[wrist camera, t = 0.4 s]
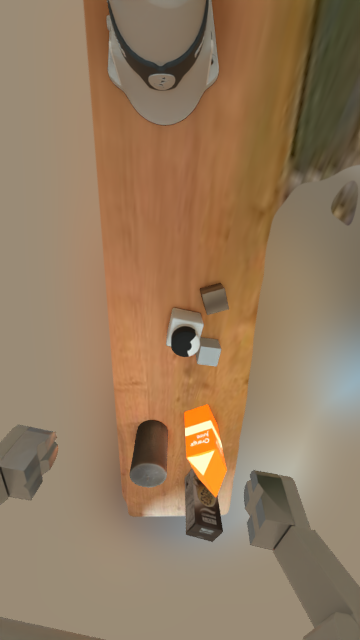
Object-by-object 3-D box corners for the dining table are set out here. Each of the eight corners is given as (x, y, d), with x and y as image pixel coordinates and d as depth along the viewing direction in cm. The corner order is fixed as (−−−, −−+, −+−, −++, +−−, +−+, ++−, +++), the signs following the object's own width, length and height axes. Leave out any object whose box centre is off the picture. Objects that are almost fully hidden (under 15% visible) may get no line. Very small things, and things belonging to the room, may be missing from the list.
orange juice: (208, 404, 68) (220, 471, 49) (217, 424, 71) (232, 494, 53) (183, 412, 69) (186, 480, 50) (194, 431, 72) (200, 503, 54)
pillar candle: (132, 423, 70) (122, 473, 56) (162, 416, 69) (159, 465, 56) (143, 445, 74) (136, 496, 60) (172, 438, 73) (171, 489, 59)
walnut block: (199, 288, 54) (202, 294, 50) (220, 282, 54) (224, 288, 49) (204, 307, 56) (207, 315, 52) (224, 302, 56) (229, 309, 51)
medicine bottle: (166, 332, 59) (165, 357, 47) (172, 306, 56) (172, 327, 45) (193, 337, 59) (198, 363, 48) (200, 312, 57) (207, 333, 46)
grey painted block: (199, 336, 59) (201, 346, 55) (217, 339, 60) (221, 349, 55) (195, 353, 61) (197, 363, 57) (213, 355, 62) (216, 366, 57)
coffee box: (215, 474, 80) (224, 531, 65) (206, 485, 82) (213, 543, 67) (192, 467, 78) (196, 524, 63) (183, 478, 80) (185, 536, 66)
